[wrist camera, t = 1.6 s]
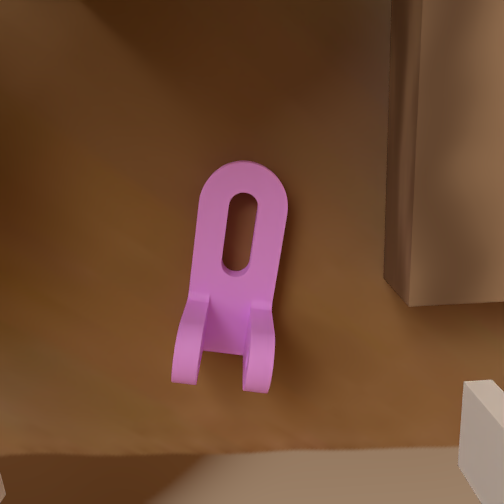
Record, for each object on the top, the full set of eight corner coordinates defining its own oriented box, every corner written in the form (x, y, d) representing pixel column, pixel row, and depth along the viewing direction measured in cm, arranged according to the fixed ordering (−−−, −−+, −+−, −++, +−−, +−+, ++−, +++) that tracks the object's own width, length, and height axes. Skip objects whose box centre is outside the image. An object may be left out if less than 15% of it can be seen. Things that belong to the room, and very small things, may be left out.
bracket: (262, 348, 33) (266, 406, 26) (185, 338, 32) (169, 394, 26) (292, 166, 29) (306, 180, 23) (206, 154, 29) (194, 164, 22)
